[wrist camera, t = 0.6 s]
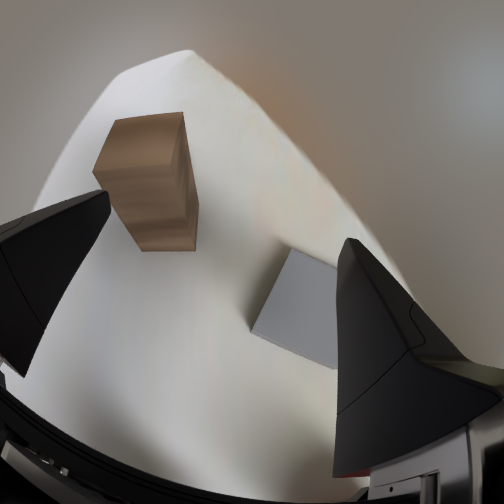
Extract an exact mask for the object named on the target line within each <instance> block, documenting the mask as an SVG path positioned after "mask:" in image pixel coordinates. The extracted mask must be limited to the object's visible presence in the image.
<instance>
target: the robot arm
mask: <svg viewBox="0 0 504 504" xmlns="http://www.w3.org/2000/svg"><path fill="white" fill-rule="evenodd" d="M110 214H111V205H110V197H109V193H108V191H106V190H96V191H93V192H89V193H86V194H83V195H80V196H77V197H74V198H71V199H68V200H65V201H62V202H59V203H57V204H54V205H51V206H48V207H46V208H43V209H40V210H38V211H35V212H33V213H30V214H28V215H25V216H22V217H20V218H18V219H15V220H13V221H10V222H8V223H5V224H3V225H0V367H1V365H2V363H3V362H4V363H5V364H6V365H8V366H9V367H10V368H11V369H13V370H14V371H15V372H16V373H18V374H19V375H20V376H22V377H23V378H25V376H26V374H27V371H28V369H29V366H30V364H31V361H32V359H33V356H34V354H35V352H36V349H37V347H38V345H39V342H40V340H41V338H42V336H43V334H44V332H45V331H44V330H45V329H46V327H47V325H48V323H49V321H50V319H51V317H52V315H53V313H54V311H55V309H56V307H57V305H58V303H59V301H60V300H61V298H62V296H63V294H64V292H65V291H66V289H67V287H68V285H69V284H70V282H71V280H72V278H73V277H74V275H75V273H76V272H77V270H78V268H79V267H80V265H81V263H82V262H83V260H84V259H85V257H86V255H87V254H88V252H89V251H90V249H91V248H92V246H93V244H94V243H95V241H96V239H97V237H98V236H99V234H100V232H101V230H102V228H103V227H104V225H105V223H106V221H107V219H108V218H109V216H110ZM336 314H337V344H338V394H337V419H336V437H335V451H334V463H333V474H332V477H333V478H348V477H365V476H370V484H369V487H365V488H362V489H361V490H359V491H358V492H357V493H356V494H355V495H354V496H353V497H352V498H351V499H350V500H349V501H348V502H336V503H292V502H276V501H266V500H257V499H249V498H242V497H236V496H230V495H225V494H220V493H215V492H210V491H206V490H202V489H198V488H194V487H190V486H186V485H183V484H179V483H176V482H173V481H170V480H167V479H164V478H161V477H158V476H155V475H152V474H149V473H147V472H144V471H141V470H139V469H136V468H134V467H131V466H129V465H127V464H124V463H122V462H120V461H117V460H115V459H113V458H111V457H109V456H107V455H105V454H103V453H101V452H99V451H97V450H95V449H93V448H91V447H89V446H87V445H85V444H84V443H82V442H80V441H78V440H76V439H75V438H73V437H71V436H70V435H68V434H66V433H65V432H63V431H62V430H60V429H58V428H57V427H55V426H54V425H52V424H51V423H49V422H48V421H46V420H45V419H43V418H42V417H41V416H39V415H38V414H36V413H35V412H34V411H32V410H31V409H30V408H28V407H27V406H26V405H24V404H23V403H22V402H21V401H19V400H18V399H17V398H16V397H14V396H13V395H12V394H11V393H10V392H8V391H7V390H6V384H5V375H4V374H3V373H2V372H1V371H0V504H504V369H500V368H495V367H491V366H486V365H481V364H477V363H475V362H472V361H470V360H469V359H467V358H466V357H465V356H464V355H463V354H462V353H461V352H460V351H459V350H458V349H457V348H456V347H455V346H454V344H453V343H452V342H451V341H450V340H449V339H448V338H447V337H446V335H445V334H444V333H443V332H442V331H441V330H440V329H439V328H438V327H437V326H436V325H435V323H434V322H433V321H432V320H431V319H430V318H429V317H428V316H427V315H426V313H425V312H424V311H423V310H422V309H421V308H420V306H419V305H418V304H417V303H416V302H415V301H414V300H413V298H412V297H411V296H410V295H409V294H408V292H407V291H406V290H405V289H404V288H403V287H402V286H401V285H400V283H399V282H398V281H397V280H396V279H395V278H394V277H393V276H392V275H391V274H390V272H389V271H388V270H387V269H386V268H385V267H384V266H383V265H382V264H381V263H380V262H379V261H378V260H377V259H376V257H375V256H374V255H373V254H372V253H371V252H370V251H369V250H368V249H367V248H366V247H365V246H364V245H363V244H362V243H361V242H360V241H359V240H357V239H353V238H347V239H346V240H345V242H344V245H343V248H342V250H341V252H340V255H339V258H338V267H337V287H336ZM26 448H27V449H26ZM33 452H34V453H33ZM35 453H36V454H35ZM42 460H44V461H46V462H48V463H49V464H48V463H46V462H43V461H42ZM60 471H62V472H63V473H62V474H61V473H60Z"/></svg>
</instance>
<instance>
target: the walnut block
mask: <svg viewBox="0 0 504 504" xmlns="http://www.w3.org/2000/svg"><path fill="white" fill-rule="evenodd" d="M92 172H93V174H94V176H95V178H96V179H97V181H98V183H99V185H100V186H101V188H102V190H106V191H108V193H109V197H110V203H111V205H112V206H113V208H114V209H115V211H116V213H117V214H118V216H119V217H120V219H121V221H122V222H123V224H124V225H125V227H126V228H127V230H128V231H129V233H130V234H131V236H132V237H133V239H134V240H135V242H136V243H137V245H138V246H139V248H140V249H141V251H142V252H146V251H195V250H196V236H197V222H198V210H199V201H198V196H197V191H196V186H195V180H194V175H193V169H192V164H191V158H190V152H189V146H188V140H187V134H186V128H185V122H184V115H183V112H175V113H164V114H154V115H146V116H138V117H131V118H125V119H119V120H115V122H114V124H113V126H112V128H111V130H110V132H109V134H108V136H107V138H106V141H105V143H104V145H103V147H102V149H101V152H100V154H99V156H98V159H97V161H96V164H95V166H94V169H93V171H92Z"/></svg>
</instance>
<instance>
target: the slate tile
mask: <svg viewBox="0 0 504 504" xmlns="http://www.w3.org/2000/svg"><path fill="white" fill-rule="evenodd" d="M336 287H337V269H335V268H333V267H331V266H328V265H326V264H324V263H322V262H320V261H318V260H316V259H314V258H311V257H309V256H307V255H305V254H303V253H301V252H298V251H296V250H294V249H291V251H290V253H289V255H288V258H287V260H286V262H285V264H284V266H283V268H282V270H281V272H280V274H279V276H278V278H277V280H276V282H275V284H274V287H273V289H272V291H271V293H270V295H269V297H268V299H267V301H266V303H265V305H264V307H263V309H262V311H261V313H260V315H259V317H258V319H257V321H256V323H255V325H254V327H253V329H252V331H251V333H252V334H254V335H256V336H258V337H260V338H262V339H264V340H266V341H269V342H271V343H273V344H275V345H277V346H279V347H282V348H284V349H286V350H288V351H290V352H293V353H295V354H297V355H299V356H302V357H304V358H306V359H309V360H311V361H313V362H316V363H318V364H321V365H323V366H325V367H328V368H330V369H338V344H337V314H336Z"/></svg>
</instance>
